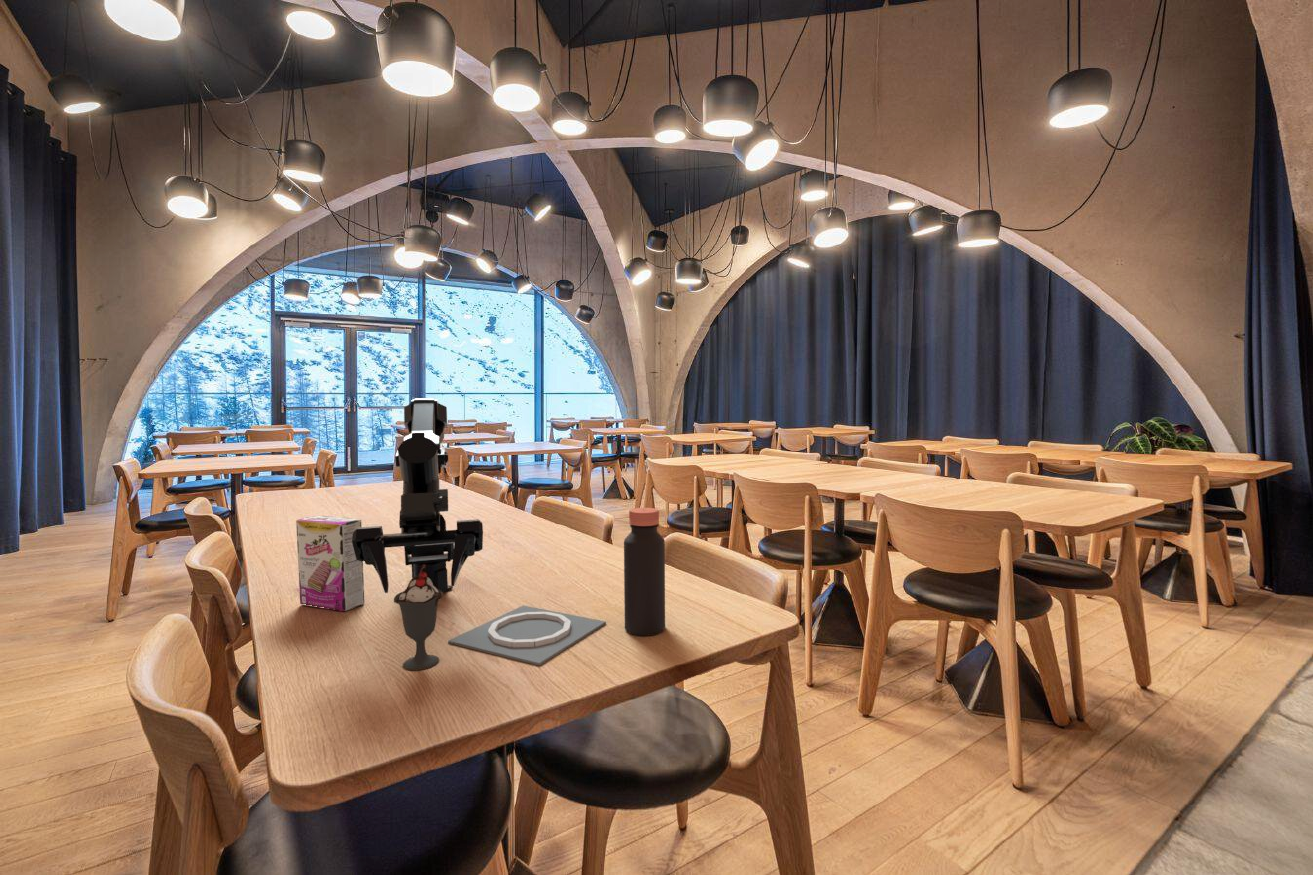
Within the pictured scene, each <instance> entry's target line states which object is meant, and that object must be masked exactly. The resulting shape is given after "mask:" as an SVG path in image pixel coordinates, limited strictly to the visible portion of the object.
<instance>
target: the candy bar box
mask: <svg viewBox="0 0 1313 875" xmlns="http://www.w3.org/2000/svg"><path fill="white" fill-rule="evenodd" d="M295 525H296V540H297V541H296V542H297V543H296V544H297V560H298V561H297V562H298V568H297V569H298V583H299V584H298V586H299V587H298V588H299V605H300V604H306V605H312V606H317V607H324V608H329V609H328V610H330V609H335V610H334V611H336V610H341V611H340V612H342V611H346V612H348V611H347V610H349V609H352V608H354V607H356V608H358V607H360V605H361V606H363V605H365V583H364V582H365V581H364V563H363V562H364V561H358V560H356V556H355V552H354V548H353V544H352V536H353V532H354V531H355V530H356V529H357V528H358V527H362V519H359V518H349V517H337V516H327V515H313V516H309V517H308V516H307V517H304V518H299V519H297V520H295ZM357 606H358V607H357ZM354 609H355V608H354ZM352 610H353V609H352ZM349 611H350V610H349Z"/></svg>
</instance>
